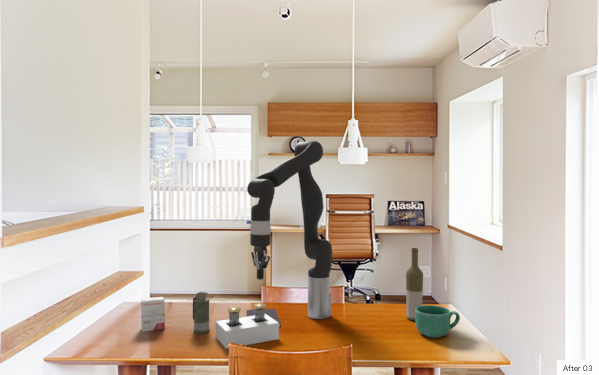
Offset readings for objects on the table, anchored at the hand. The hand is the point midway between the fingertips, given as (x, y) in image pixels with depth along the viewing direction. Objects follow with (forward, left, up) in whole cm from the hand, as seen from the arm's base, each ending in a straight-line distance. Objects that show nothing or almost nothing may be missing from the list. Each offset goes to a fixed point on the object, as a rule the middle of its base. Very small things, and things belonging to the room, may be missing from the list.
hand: (260, 279), depth 158 cm
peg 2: (0, 0, -16) cm, 16 cm away
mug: (-61, +29, -22) cm, 71 cm away
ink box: (+34, -26, -22) cm, 48 cm away
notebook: (-9, -18, -22) cm, 30 cm away
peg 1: (+10, 0, -16) cm, 19 cm away
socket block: (+5, 0, -21) cm, 22 cm away
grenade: (+18, -15, -22) cm, 32 cm away
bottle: (-66, +11, -22) cm, 70 cm away
